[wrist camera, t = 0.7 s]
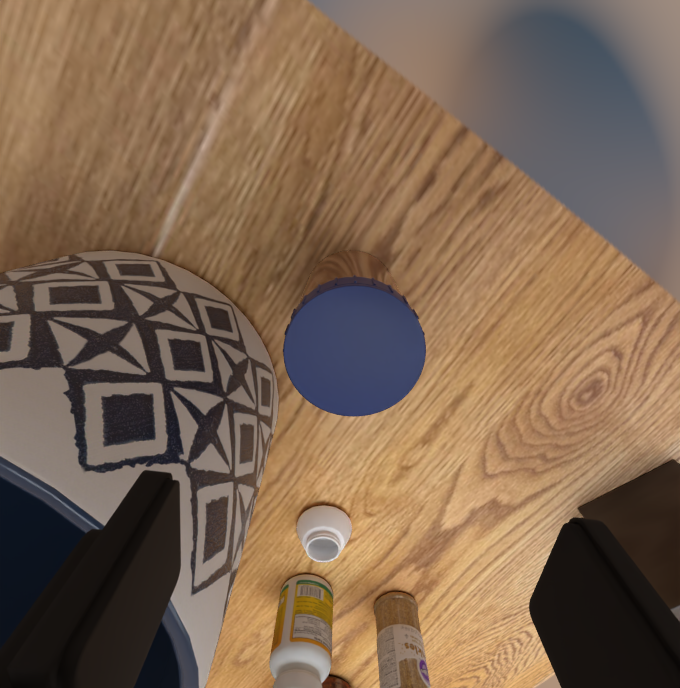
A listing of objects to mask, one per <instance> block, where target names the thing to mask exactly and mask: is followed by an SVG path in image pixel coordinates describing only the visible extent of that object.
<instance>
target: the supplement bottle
mask: <svg viewBox="0 0 680 688" xmlns="http://www.w3.org/2000/svg"><path fill="white" fill-rule="evenodd" d="M332 620H333V591H332V589H331V587H330V585H329V584H328V583H327V582H326V581H325V580H324V579H322V578H320V577H318V576H315V575H309V574H308V575H307V574H304V575H298V576H295V577H293V578H291V579H289V580H288V581H287V582H286V583H285V584H284V586H283V587H282V589H281V593H280V599H279V606H278V612H277V618H276V624H275V630H274V637H273V643H272V649H271V655H270V670H271V673H272V675H273V677H274V678H275V682H274V685H273V688H322V683H323V682H324V681H325V679H326V678H327V676H328V675H329V672H330V669H331V656H332Z"/></svg>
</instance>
